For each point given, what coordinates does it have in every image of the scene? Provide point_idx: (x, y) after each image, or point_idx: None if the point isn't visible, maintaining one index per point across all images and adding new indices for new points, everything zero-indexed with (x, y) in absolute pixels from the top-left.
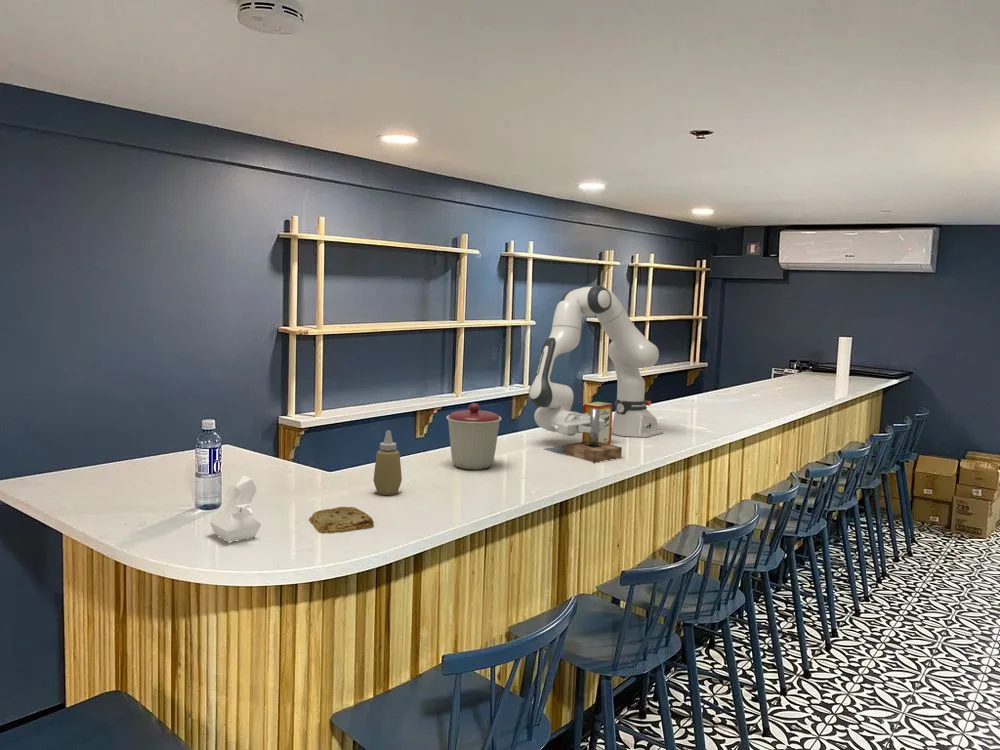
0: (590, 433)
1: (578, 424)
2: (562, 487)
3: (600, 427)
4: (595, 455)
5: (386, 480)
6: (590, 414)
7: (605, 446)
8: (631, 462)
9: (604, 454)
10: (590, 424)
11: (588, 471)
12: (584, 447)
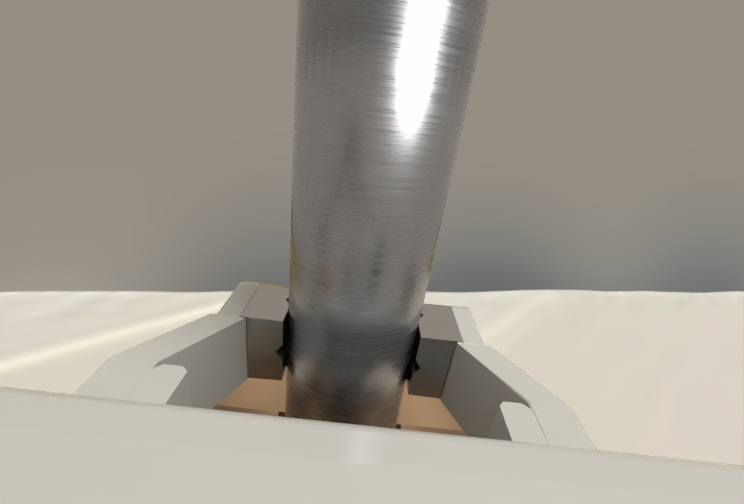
0: (403, 388)
1: (624, 458)
2: (715, 301)
3: (273, 289)
4: None
5: None
6: (456, 131)
7: (269, 398)
8: None
9: None
10: (425, 292)
11: (567, 343)
12: None
